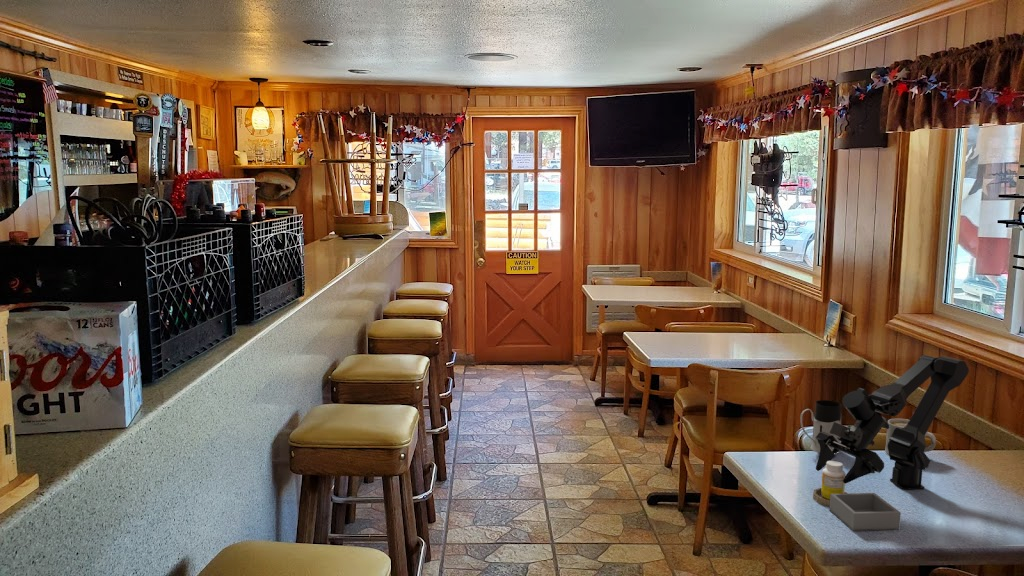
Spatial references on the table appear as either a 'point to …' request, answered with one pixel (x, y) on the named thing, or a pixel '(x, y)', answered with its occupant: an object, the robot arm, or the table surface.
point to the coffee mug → (901, 424)
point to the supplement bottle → (832, 479)
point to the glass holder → (823, 420)
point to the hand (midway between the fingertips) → (830, 476)
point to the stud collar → (820, 499)
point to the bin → (864, 512)
